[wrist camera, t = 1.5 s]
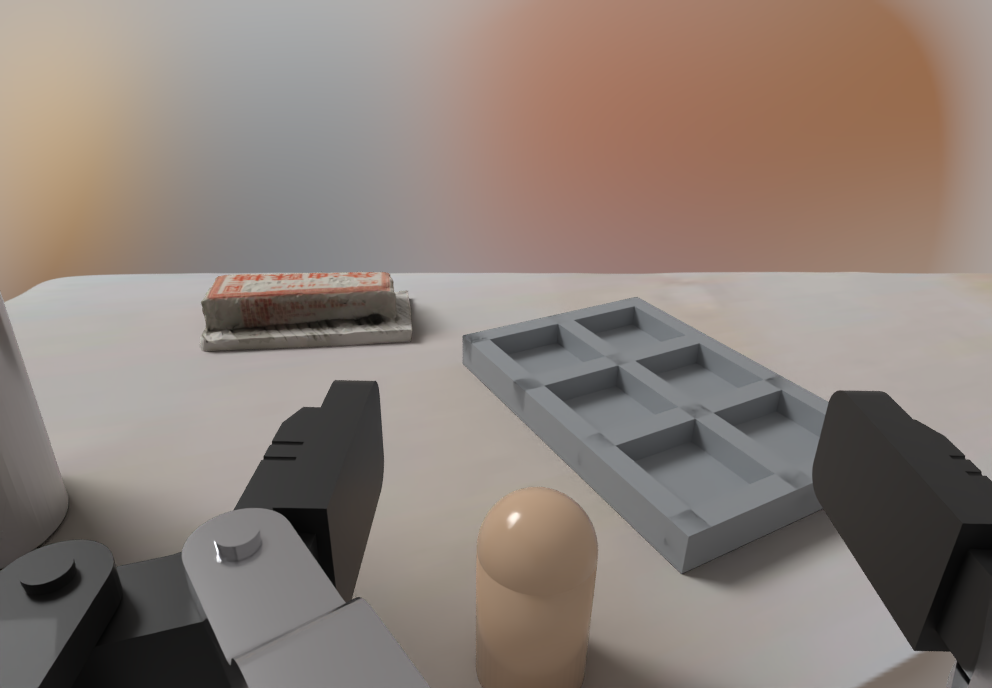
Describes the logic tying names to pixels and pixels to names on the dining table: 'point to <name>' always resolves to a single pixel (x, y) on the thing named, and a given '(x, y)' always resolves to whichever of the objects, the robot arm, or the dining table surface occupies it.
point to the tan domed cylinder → (534, 591)
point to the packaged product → (304, 311)
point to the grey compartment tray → (660, 423)
